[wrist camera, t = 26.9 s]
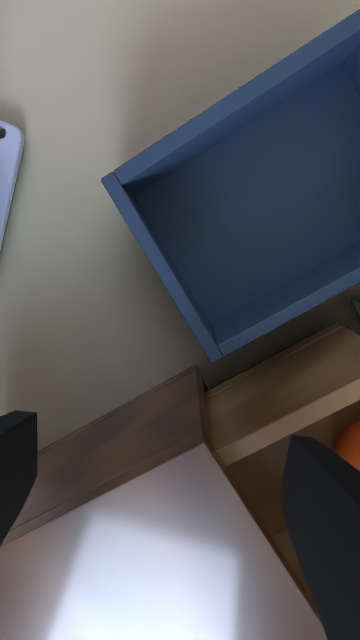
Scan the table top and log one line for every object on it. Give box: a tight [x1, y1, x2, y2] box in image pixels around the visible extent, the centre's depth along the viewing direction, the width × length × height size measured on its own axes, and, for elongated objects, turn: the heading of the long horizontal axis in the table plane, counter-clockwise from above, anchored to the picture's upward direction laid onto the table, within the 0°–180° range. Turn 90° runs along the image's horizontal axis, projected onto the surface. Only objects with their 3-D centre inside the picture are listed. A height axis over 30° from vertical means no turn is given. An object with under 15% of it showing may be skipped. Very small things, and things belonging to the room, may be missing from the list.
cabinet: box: [0, 365, 327, 640], centre depth 17 cm, size 13×12×7 cm
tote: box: [101, 9, 360, 363], centre depth 15 cm, size 12×9×4 cm
